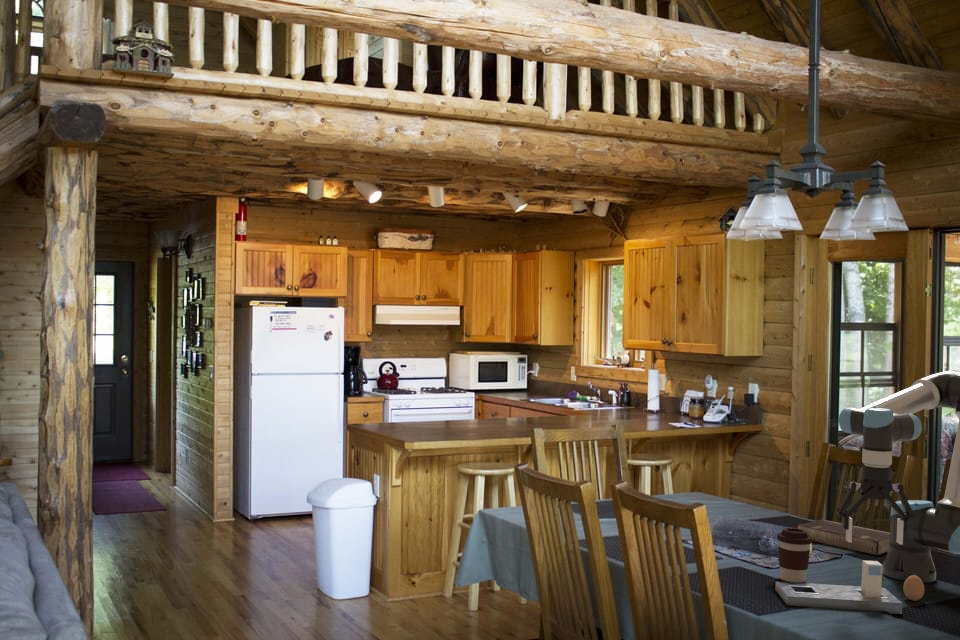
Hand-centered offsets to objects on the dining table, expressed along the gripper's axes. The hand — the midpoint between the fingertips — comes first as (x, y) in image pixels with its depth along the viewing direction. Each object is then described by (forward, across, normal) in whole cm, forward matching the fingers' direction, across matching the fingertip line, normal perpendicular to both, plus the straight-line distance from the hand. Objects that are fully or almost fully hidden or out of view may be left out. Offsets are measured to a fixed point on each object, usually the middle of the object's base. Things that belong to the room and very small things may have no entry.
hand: (874, 542), depth 267 cm
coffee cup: (+17, +17, -20) cm, 31 cm away
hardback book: (+19, -16, -74) cm, 78 cm away
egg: (+18, -13, -7) cm, 23 cm away
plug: (+16, 0, 0) cm, 17 cm away
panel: (+17, +10, 0) cm, 20 cm away
